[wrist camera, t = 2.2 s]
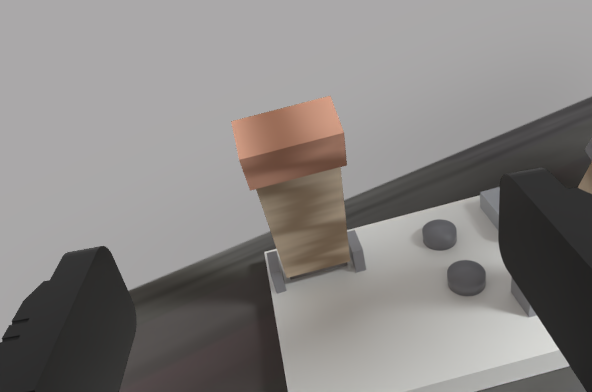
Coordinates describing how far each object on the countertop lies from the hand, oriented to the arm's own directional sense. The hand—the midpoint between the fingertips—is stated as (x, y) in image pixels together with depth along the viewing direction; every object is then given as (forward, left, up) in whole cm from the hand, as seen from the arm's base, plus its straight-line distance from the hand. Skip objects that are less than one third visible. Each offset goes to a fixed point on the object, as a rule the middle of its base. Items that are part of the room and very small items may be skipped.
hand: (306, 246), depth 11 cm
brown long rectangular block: (-1, -22, -21) cm, 31 cm away
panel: (-9, -18, -24) cm, 31 cm away
